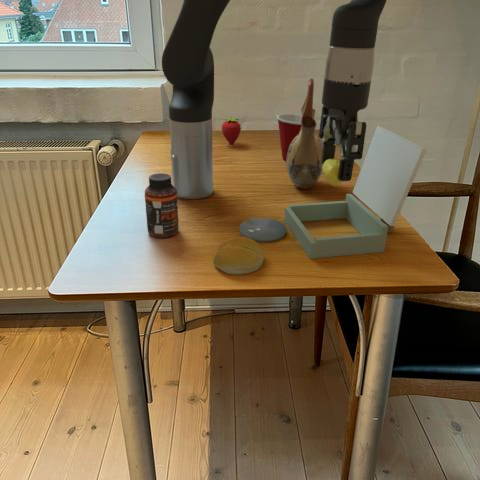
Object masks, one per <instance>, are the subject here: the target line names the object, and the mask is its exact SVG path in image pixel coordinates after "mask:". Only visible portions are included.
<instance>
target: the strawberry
mask: <svg viewBox="0 0 480 480" xmlns="http://www.w3.org/2000/svg"><path fill="white" fill-rule="evenodd" d="M221 120H223V121H224V122H223V123H222V124H221V131H222V135H223V137H224V138H225V140H226V141H227V142H228V143H229V145H230V146H233V145H235V143H236V141H237V140H238V138H239V136H240V134H241V129H242V128H241V124H240V123H239V120H240V119H239V118H234V117H231V118H221Z"/></svg>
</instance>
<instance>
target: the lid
mask: <svg viewBox="0 0 480 480" xmlns="http://www.w3.org/2000/svg"><path fill="white" fill-rule="evenodd" d="M426 153H427V149H426V148H424V147H422V146H421V145H418V144H416V143H415V142H412V141H410V140H409V139H406V138H404V137H402V136H401V135H398V134H397V133H395V132H393V131H390V130H388V129H387V128H386V127H385V128H384V127H383V126H381V125H380V126H379V125H377V126H376V128H375V132H374V134H373V137H372V139H371V142H370V145H369V147H368V150H367V152H366V155H365V158H364V161H363V164H362V166H361V168H360V171H359V174H358V176H357V179H356V182H355V184H354V188H353V190H352V193H351V194H352V195H354V196H356V198H357V199H358V200H360V202H361V203H363V204H365V206H366V207H367V208H368V209H369V210H372V212H374V213H375V215H376V216H377V215H378V216H377V217H380V219H381V218H382V219H383V220H384V221H385V222H386V223H388V224H389V225H390V226H394V225H396V223H397V220H398V218H399V215H400V213H401V210H402V208H403V206H404V204H405V201H406V199H407V197H408V194H409V192H410V190H411V187H412V186H413V182H414V180H415V178H416V176H417V174H418V171H419V169H420V166H421V164H422V162H423V159H424V157H425V155H426ZM394 227H395V226H394Z"/></svg>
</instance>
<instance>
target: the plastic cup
mask: <svg viewBox="0 0 480 480" xmlns="http://www.w3.org/2000/svg"><path fill="white" fill-rule="evenodd" d="M276 119H277V125H278V130H279V131H278V132H279V133H278V134H279V139H280V140H279V143H280V150H281V157H282V160H283V161H285V162H286V159H287V152H288V149H289V146H290V144H291V142H292V140H293V139H294V138H295V137H296V136H297V135H298V134H299V132H300V130H301V119H302V114H295V113H281V114H278V115H277V116H276ZM314 120H315V121H316V122H317V120H316V119H314Z"/></svg>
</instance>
